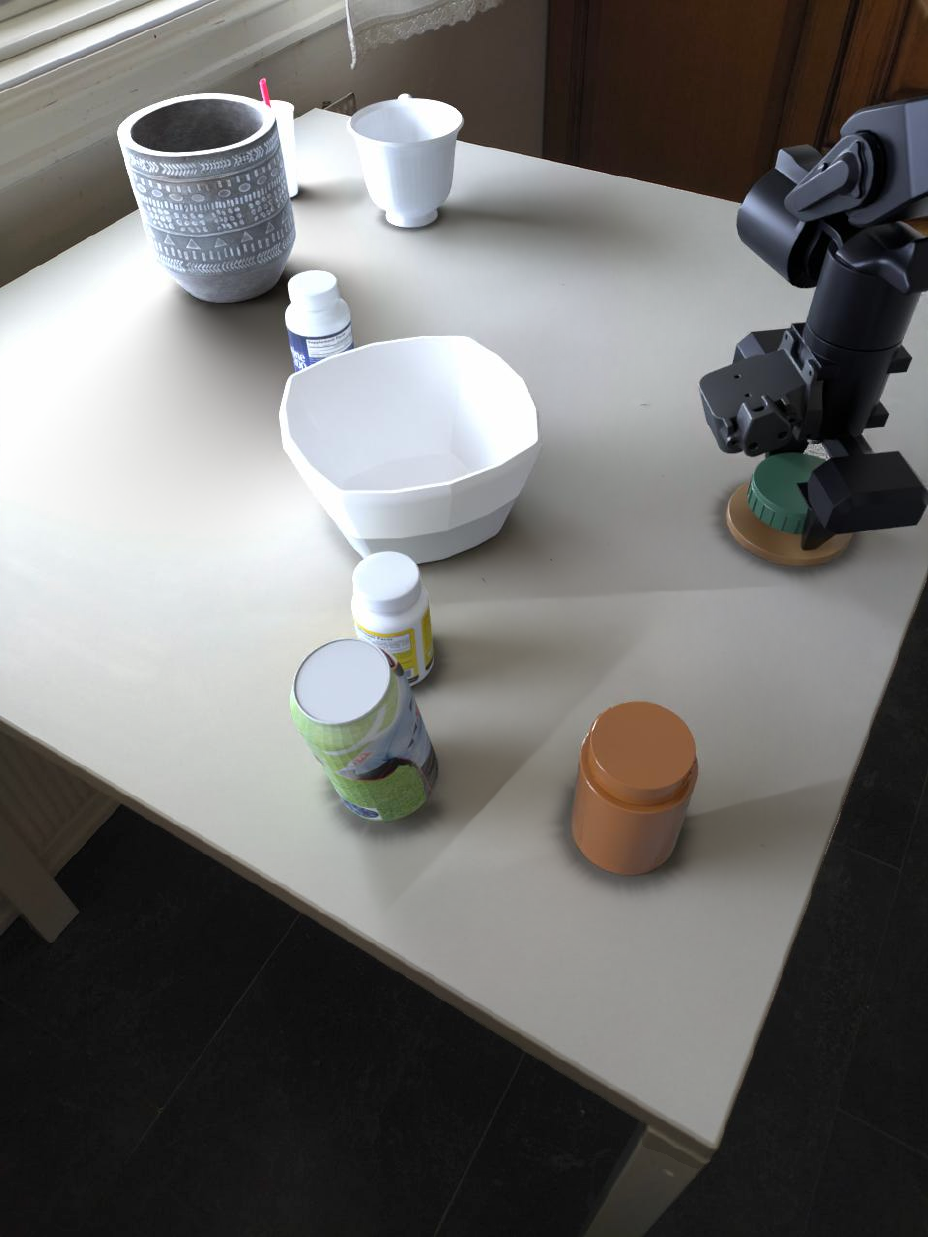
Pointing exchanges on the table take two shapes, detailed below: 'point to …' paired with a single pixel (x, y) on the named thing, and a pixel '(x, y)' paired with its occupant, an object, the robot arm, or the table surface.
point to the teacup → (407, 156)
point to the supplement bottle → (394, 611)
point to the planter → (212, 193)
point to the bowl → (413, 443)
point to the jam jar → (633, 787)
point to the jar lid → (781, 490)
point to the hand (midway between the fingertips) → (790, 515)
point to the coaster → (776, 537)
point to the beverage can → (364, 728)
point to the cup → (285, 136)
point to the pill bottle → (317, 319)
